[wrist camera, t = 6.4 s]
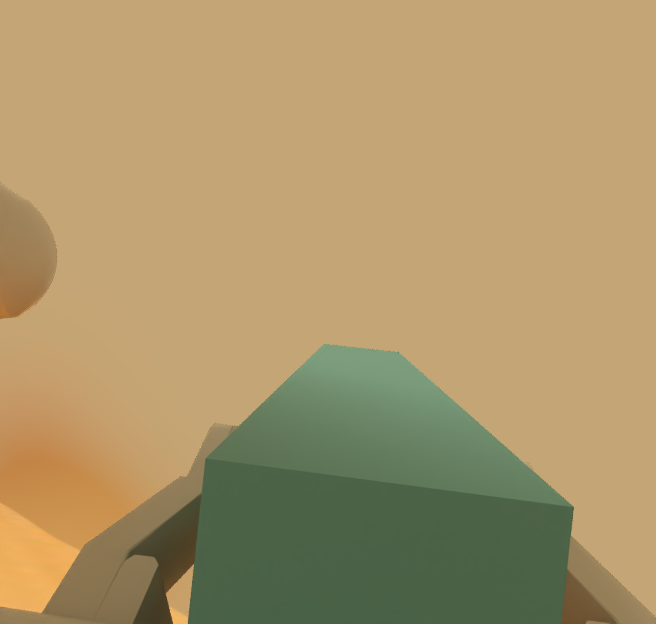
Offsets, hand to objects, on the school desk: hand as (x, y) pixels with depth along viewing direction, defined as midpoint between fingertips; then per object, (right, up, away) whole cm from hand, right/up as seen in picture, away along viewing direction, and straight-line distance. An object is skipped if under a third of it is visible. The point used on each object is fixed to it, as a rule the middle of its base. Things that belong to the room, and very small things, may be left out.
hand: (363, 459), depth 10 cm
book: (0, -2, +5) cm, 5 cm away
